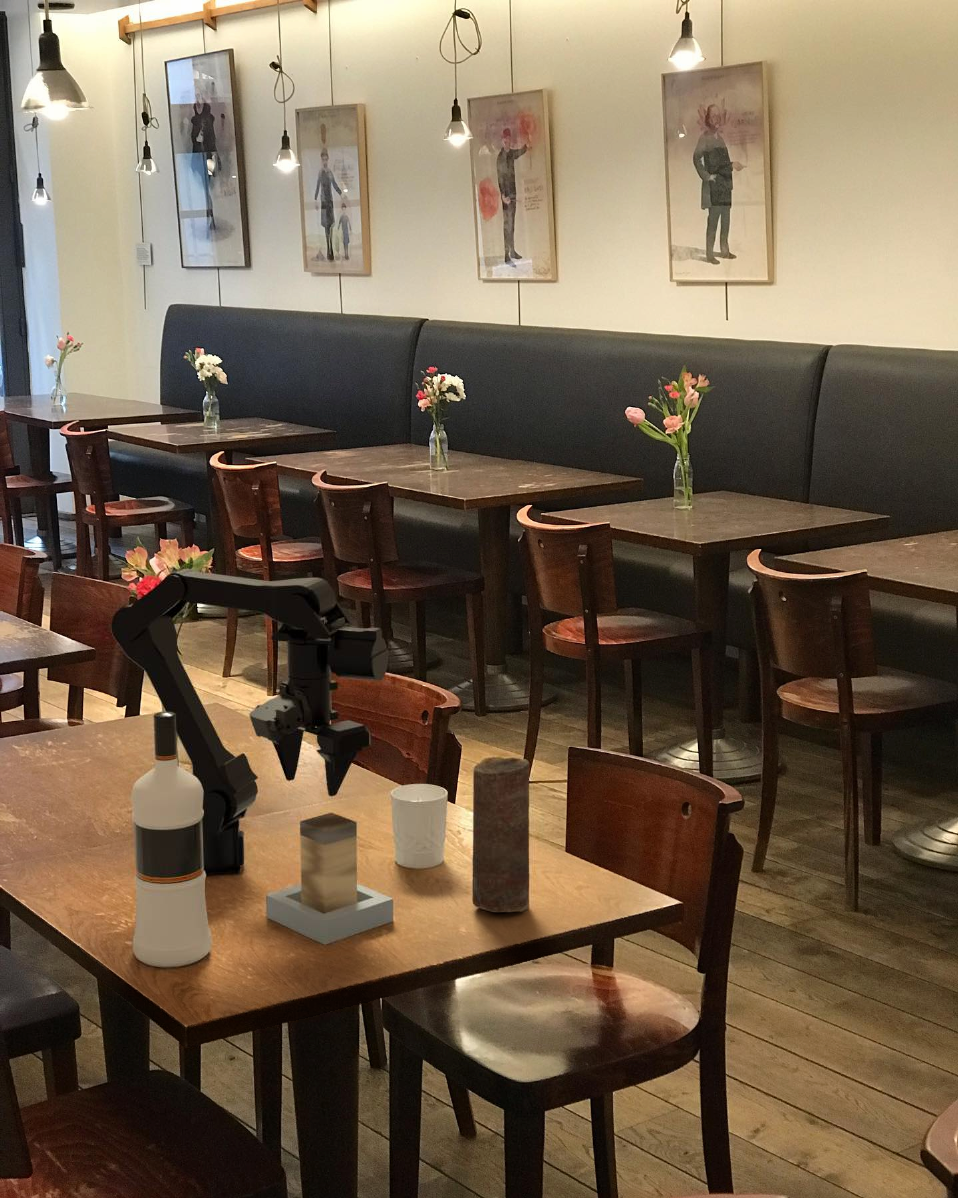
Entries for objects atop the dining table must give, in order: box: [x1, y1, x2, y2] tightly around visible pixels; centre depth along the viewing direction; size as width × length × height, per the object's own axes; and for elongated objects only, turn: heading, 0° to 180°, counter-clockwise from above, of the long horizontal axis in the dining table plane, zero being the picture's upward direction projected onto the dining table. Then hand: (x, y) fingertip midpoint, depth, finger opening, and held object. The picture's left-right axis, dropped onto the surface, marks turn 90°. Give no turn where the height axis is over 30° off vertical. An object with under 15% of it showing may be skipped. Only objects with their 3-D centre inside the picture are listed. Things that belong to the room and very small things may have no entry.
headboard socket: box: [265, 883, 394, 946], centre depth 203 cm, size 12×11×3 cm
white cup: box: [390, 783, 448, 870], centre depth 223 cm, size 8×8×10 cm
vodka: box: [130, 711, 212, 969], centre depth 189 cm, size 9×9×30 cm
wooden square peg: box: [299, 812, 358, 914], centre depth 202 cm, size 5×5×13 cm
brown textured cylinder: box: [471, 756, 530, 913], centre depth 205 cm, size 8×7×20 cm
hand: (311, 787), depth 214 cm, fingers open, 9 cm apart
